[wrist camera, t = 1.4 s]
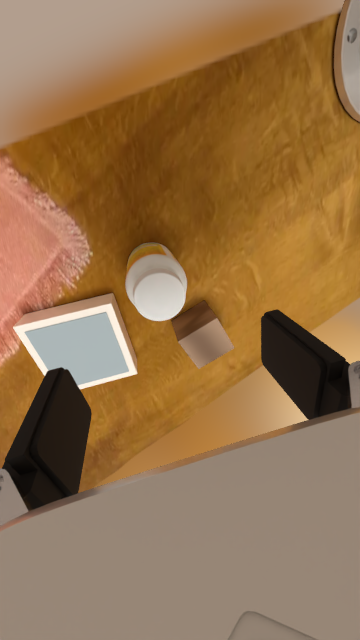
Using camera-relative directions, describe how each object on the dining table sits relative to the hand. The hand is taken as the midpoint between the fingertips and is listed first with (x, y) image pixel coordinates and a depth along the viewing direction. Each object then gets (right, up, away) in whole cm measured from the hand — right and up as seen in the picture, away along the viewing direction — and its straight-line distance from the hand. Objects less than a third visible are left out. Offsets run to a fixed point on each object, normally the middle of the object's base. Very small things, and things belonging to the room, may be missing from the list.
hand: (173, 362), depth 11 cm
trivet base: (-11, 0, +17) cm, 21 cm away
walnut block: (+3, +2, +20) cm, 20 cm away
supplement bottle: (-3, +8, +15) cm, 17 cm away
